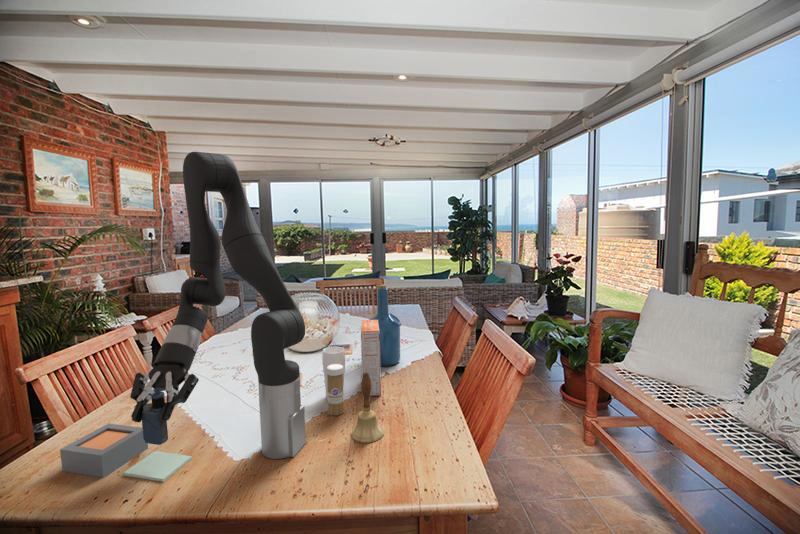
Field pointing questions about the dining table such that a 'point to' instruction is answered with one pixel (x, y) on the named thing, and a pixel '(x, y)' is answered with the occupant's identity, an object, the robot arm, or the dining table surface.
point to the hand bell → (366, 417)
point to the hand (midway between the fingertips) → (148, 421)
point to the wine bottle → (387, 330)
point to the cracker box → (371, 354)
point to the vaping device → (154, 420)
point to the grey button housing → (103, 452)
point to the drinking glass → (333, 361)
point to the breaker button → (104, 440)
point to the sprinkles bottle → (335, 389)
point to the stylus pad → (158, 466)
